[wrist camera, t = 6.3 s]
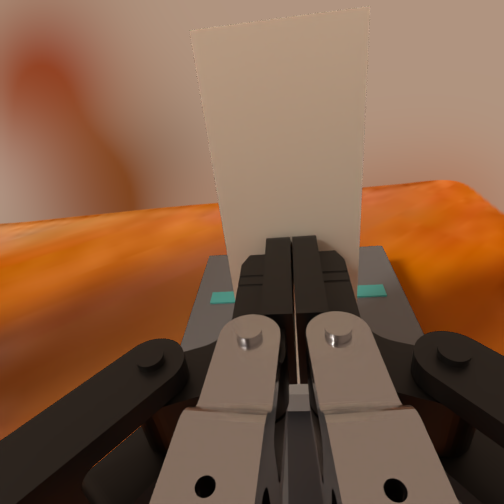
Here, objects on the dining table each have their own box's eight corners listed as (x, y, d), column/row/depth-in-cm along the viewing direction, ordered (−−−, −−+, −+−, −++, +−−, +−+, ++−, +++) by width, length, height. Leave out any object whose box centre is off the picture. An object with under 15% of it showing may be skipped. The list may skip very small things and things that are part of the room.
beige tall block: (238, 411, 14) (161, 33, 8) (247, 339, 18) (198, 33, 11) (368, 410, 14) (401, 0, 7) (350, 336, 17) (363, 11, 11)
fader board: (61, 834, 8) (21, 831, 7) (214, 278, 27) (209, 254, 26) (648, 914, 7) (706, 924, 6) (379, 270, 26) (382, 244, 25)
